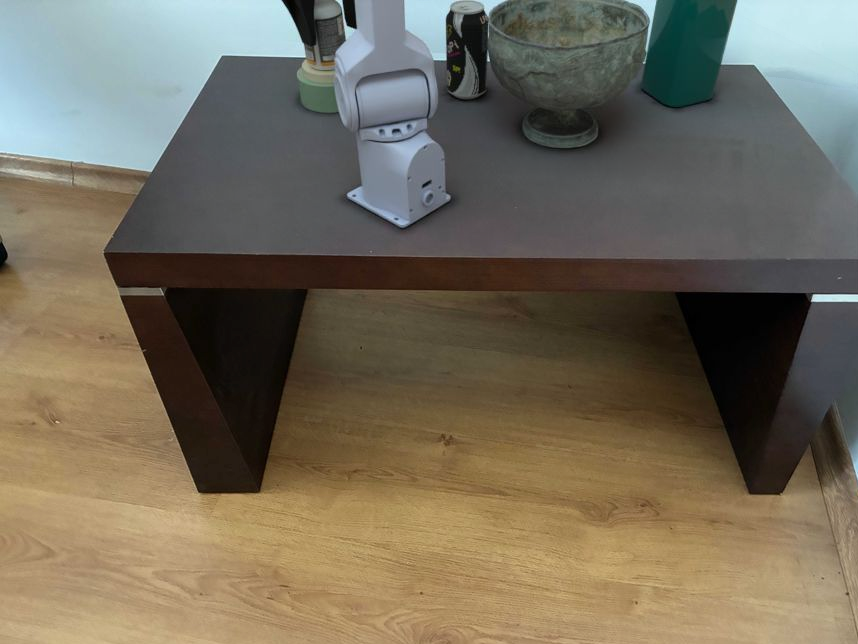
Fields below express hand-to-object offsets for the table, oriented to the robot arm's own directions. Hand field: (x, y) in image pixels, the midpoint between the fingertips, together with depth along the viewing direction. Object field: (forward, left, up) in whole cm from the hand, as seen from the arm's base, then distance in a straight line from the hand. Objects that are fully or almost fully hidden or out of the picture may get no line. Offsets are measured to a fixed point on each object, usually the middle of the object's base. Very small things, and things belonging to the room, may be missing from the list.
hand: (331, 35), depth 94 cm
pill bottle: (+2, 0, -4) cm, 5 cm away
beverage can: (-11, -14, -9) cm, 20 cm away
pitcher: (-34, -34, -9) cm, 49 cm away
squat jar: (+2, 0, -9) cm, 9 cm away
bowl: (-27, -14, -9) cm, 32 cm away
